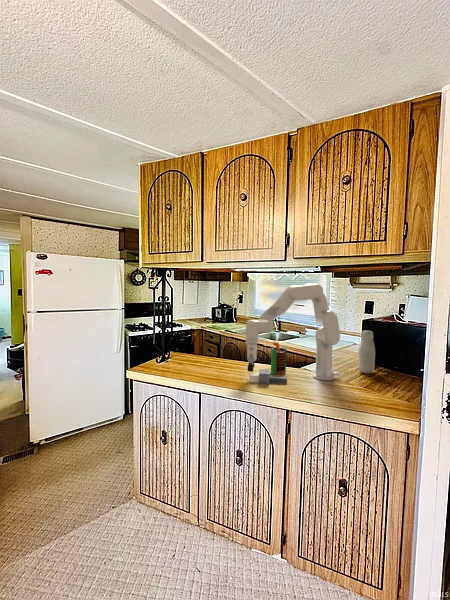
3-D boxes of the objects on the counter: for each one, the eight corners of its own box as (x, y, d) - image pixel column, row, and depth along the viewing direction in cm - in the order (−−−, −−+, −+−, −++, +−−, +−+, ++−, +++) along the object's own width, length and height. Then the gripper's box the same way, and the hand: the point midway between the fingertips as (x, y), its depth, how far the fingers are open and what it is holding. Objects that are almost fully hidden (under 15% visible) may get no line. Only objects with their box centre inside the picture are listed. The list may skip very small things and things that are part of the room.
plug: (286, 381, 197) (286, 375, 196) (286, 384, 193) (287, 377, 193) (249, 379, 200) (249, 373, 200) (249, 382, 196) (249, 375, 196)
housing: (269, 379, 201) (269, 369, 201) (269, 384, 191) (269, 374, 191) (259, 378, 202) (259, 368, 202) (258, 384, 192) (259, 373, 192)
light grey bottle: (373, 371, 220) (374, 329, 218) (375, 375, 210) (377, 332, 209) (357, 370, 223) (358, 328, 221) (358, 374, 213) (360, 331, 211)
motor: (280, 375, 209) (280, 344, 207) (267, 373, 214) (268, 342, 213) (287, 372, 217) (288, 342, 215) (275, 370, 222) (276, 340, 221)
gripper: (257, 343, 187) (256, 373, 188) (259, 338, 204) (258, 366, 205) (244, 343, 188) (243, 372, 189) (246, 337, 205) (245, 365, 206)
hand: (250, 369), depth 197 cm, fingers open, 9 cm apart
